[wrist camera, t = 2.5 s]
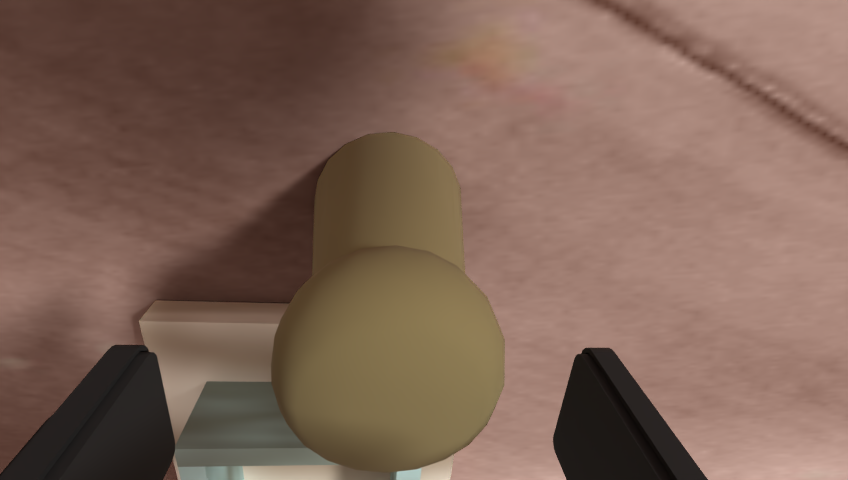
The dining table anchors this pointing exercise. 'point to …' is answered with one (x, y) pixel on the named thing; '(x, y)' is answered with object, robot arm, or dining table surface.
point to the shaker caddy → (236, 397)
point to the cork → (387, 316)
